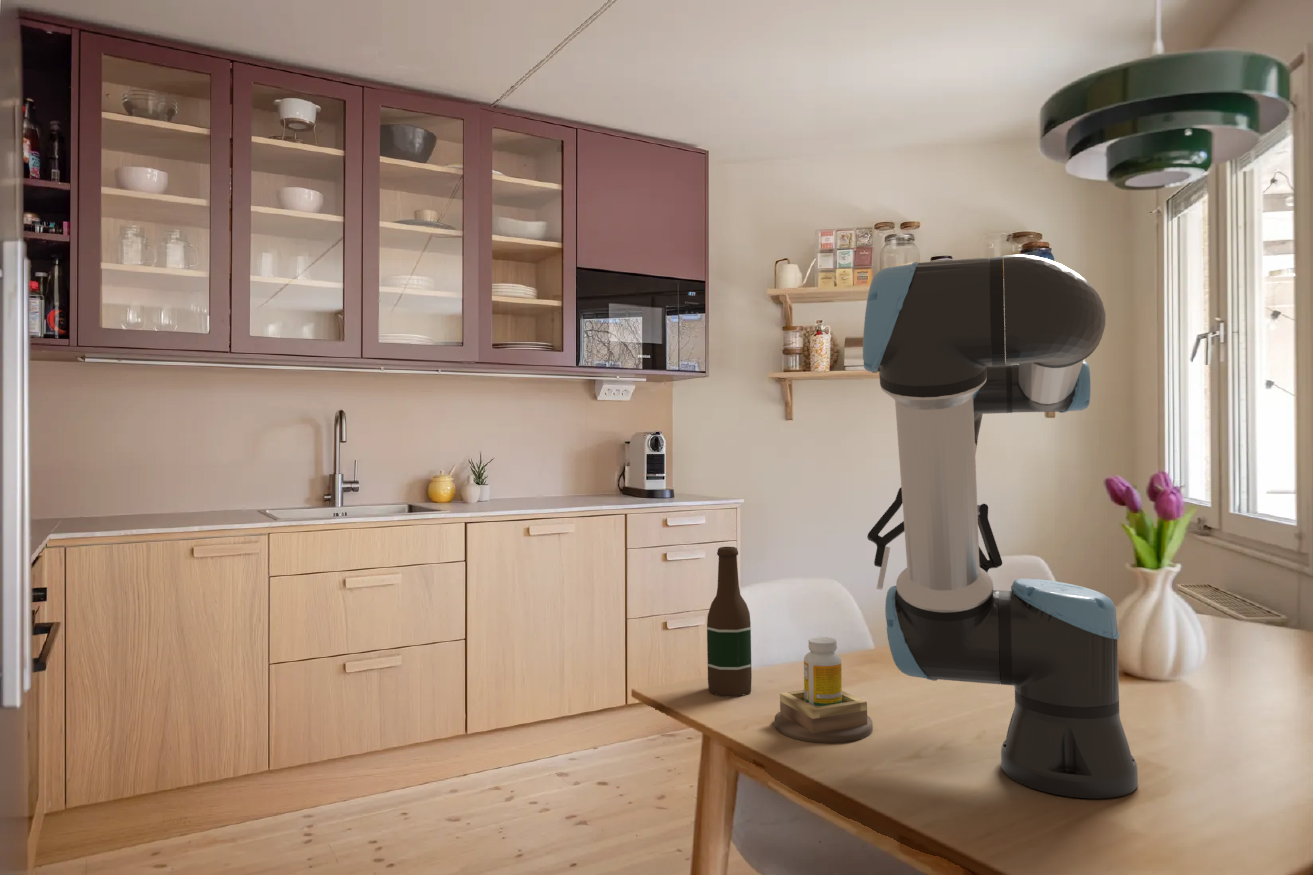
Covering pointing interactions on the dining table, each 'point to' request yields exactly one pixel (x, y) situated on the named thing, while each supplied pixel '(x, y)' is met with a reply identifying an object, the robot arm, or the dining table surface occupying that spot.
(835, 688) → the supplement bottle
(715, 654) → the beer bottle
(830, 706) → the square wooden tray
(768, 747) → the dining table surface
